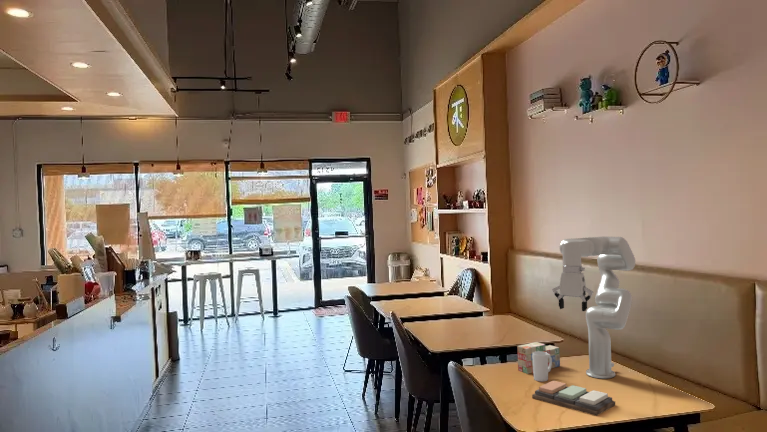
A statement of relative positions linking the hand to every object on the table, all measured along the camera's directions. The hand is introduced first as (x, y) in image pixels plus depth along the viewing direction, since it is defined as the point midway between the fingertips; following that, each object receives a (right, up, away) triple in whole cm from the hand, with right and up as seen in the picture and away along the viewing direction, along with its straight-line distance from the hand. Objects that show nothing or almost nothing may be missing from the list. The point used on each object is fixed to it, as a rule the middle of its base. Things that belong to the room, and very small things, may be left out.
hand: (572, 309), depth 236 cm
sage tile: (-4, -32, -12) cm, 35 cm away
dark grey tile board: (-4, -35, -12) cm, 37 cm away
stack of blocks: (-5, -34, +32) cm, 48 cm away
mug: (-8, -35, +17) cm, 39 cm away
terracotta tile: (-10, -32, -6) cm, 34 cm away
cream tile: (+2, -32, -19) cm, 37 cm away
